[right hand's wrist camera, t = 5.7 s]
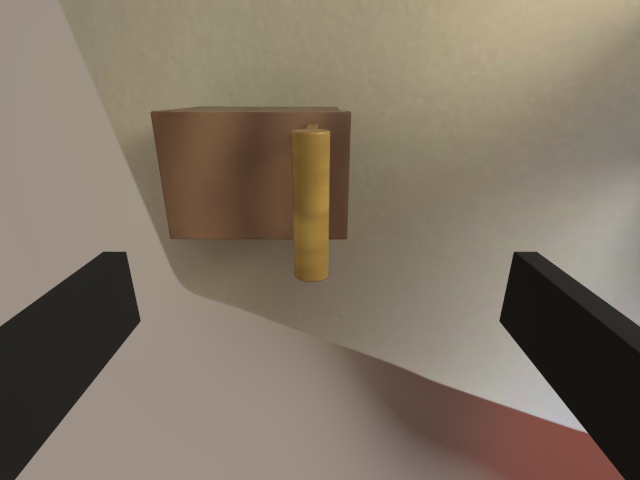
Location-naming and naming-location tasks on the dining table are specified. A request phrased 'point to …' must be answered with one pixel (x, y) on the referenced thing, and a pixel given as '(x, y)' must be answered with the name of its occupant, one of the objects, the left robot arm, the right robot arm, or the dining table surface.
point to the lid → (257, 178)
